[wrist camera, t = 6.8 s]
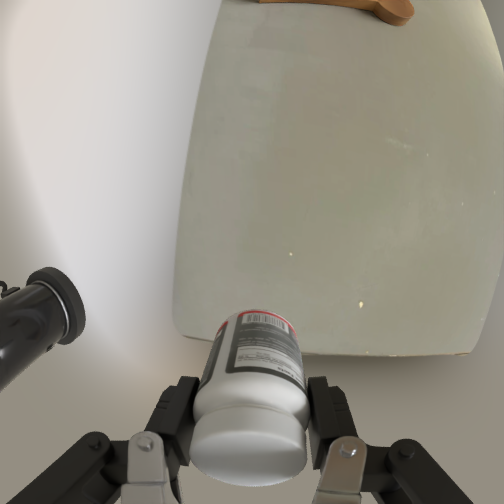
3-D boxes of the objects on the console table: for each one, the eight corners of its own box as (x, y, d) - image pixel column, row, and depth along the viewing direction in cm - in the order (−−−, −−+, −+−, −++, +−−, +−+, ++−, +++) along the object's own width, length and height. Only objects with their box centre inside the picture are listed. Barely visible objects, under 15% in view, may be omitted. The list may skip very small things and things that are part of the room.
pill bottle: (245, 385, 16) (231, 498, 8) (200, 331, 15) (149, 443, 7) (312, 352, 15) (338, 470, 7) (270, 291, 14) (271, 406, 6)
